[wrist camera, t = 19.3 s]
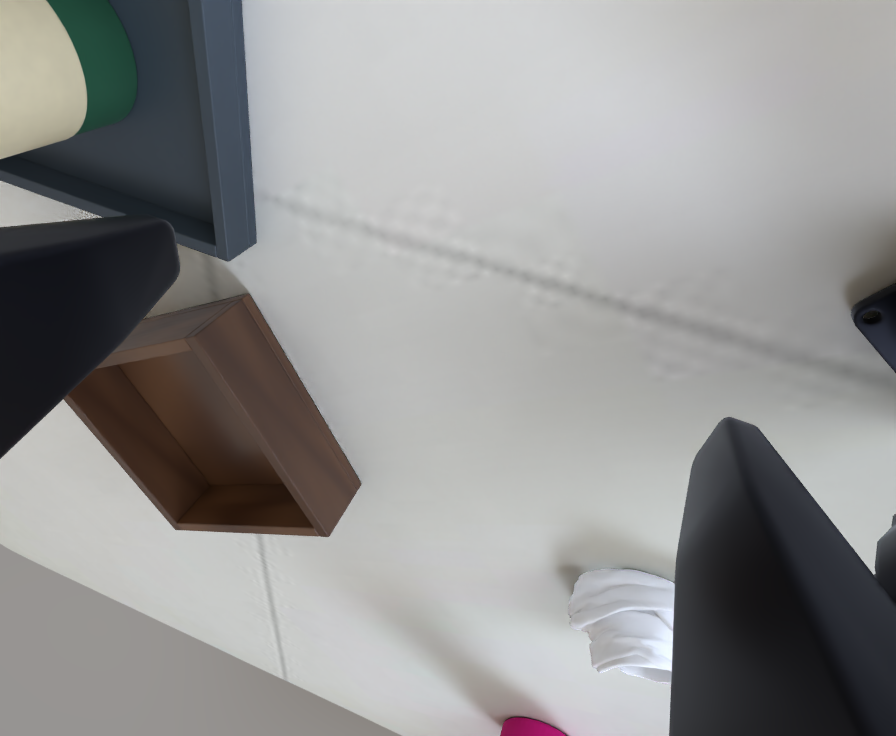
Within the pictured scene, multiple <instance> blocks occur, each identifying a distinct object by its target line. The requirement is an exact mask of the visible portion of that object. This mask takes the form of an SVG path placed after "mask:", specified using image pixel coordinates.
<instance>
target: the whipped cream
mask: <svg viewBox="0 0 896 736" xmlns="http://www.w3.org/2000/svg"><path fill="white" fill-rule="evenodd" d="M674 591H675V584H674V583H672V582H671V581H669V580H666V579H664V578H662V577H658V576H655V575H652V574H648V573H644V572H641V571H637V570H632V569H621V570H618V569H613V568H606V569H597V570H592V571H589V572H586V573H584V574H581V575H579V579H578V581H577V582H576V583H575V585H574V593H573V595H572V596H571V597H570V599H569V608H568V613H569V616H570V618H571V620H570V622H569V623H570V626H571V628H572V629H575V630H581V631H583V632H589V638H590V640H591V641H592V642H591V643H590V653H591V661H592V667H593V668H595V669H597V671H598V672H599V673H602V672H604V671H607V670H609V669H613V668H615V667H618V668H619V669H620V670H621V671H622V672H623V673H625V674H628V675H633V676H638V677H642V678H645V679H648V680H652V681H655V682H659V683H663V684H671V675H672V647H673V619H674Z"/></svg>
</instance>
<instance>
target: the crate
mask: <svg viewBox="0 0 896 736" xmlns="http://www.w3.org/2000/svg"><path fill="white" fill-rule="evenodd" d="M64 400H65V402H66V403H67V404H68V405H69V406H70V407H71V409H72V410H73V411H74V412H75V413H76V414H77V416H78V417H79V418H80V419H81V420H82V421H83V423H84V424H85V425H86V426H87V427H88V428H89V430H90V431H91V432H92V433H93V434H94V435H95V437H96V438H97V439H98V440H99V441H100V442H101V444H102V445H103V446H104V447H105V448H106V449H107V451H108V452H109V453H110V454H111V455H112V456H113V458H114V459H115V460H116V461H117V462H118V463H119V465H120V466H121V467H122V468H123V469H124V470H125V472H126V473H127V474H128V475H129V476H130V477H131V479H132V480H133V481H134V482H135V483H136V484H137V486H138V487H139V488H140V489H141V490H142V491H143V493H144V494H145V495H146V496H147V497H148V498H149V500H150V501H151V502H152V503H153V504H154V505H155V507H156V508H157V509H158V510H159V511H160V512H161V514H162V515H163V516H164V517H165V518H166V519H167V521H168V522H169V523H170V524H171V525H172V526H173V528H174V529H175V530H189V531H211V532H233V533H255V534H277V535H299V536H321V537H329V536H330V534H331V533H332V531H333V530H334V528H335V526H336V525H337V523H338V521H339V520H340V518H341V517H342V515H343V513H344V512H345V510H346V508H347V507H348V505H349V504H350V502H351V500H352V499H353V497H354V495H355V494H356V492H357V491H358V489H359V488H360V486H361V482H360V480H359V479H358V477H357V475H356V474H355V472H354V470H353V469H352V467H351V465H350V463H349V462H348V460H347V458H346V457H345V455H344V453H343V452H342V450H341V448H340V447H339V445H338V443H337V441H336V440H335V438H334V436H333V435H332V433H331V431H330V430H329V428H328V426H327V424H326V423H325V421H324V419H323V418H322V416H321V414H320V413H319V411H318V409H317V408H316V406H315V404H314V402H313V401H312V399H311V397H310V396H309V394H308V392H307V391H306V389H305V387H304V386H303V384H302V382H301V380H300V379H299V377H298V375H297V374H296V372H295V370H294V369H293V367H292V365H291V364H290V362H289V360H288V358H287V357H286V355H285V353H284V352H283V350H282V348H281V347H280V345H279V343H278V342H277V340H276V338H275V336H274V335H273V333H272V331H271V330H270V328H269V326H268V325H267V323H266V321H265V320H264V318H263V316H262V314H261V313H260V311H259V309H258V308H257V306H256V304H255V303H254V301H253V299H252V298H251V296H250V294H245V295H241V296H237V297H233V298H229V299H225V300H221V301H217V302H213V303H208V304H204V305H200V306H196V307H192V308H188V309H184V310H180V311H176V312H172V313H168V314H164V315H159V316H155V317H151V318H147V319H143V320H141V322H140V323H139V324H138V325H137V326H136V328H135V329H134V330H133V331H132V332H131V333H130V334H129V336H128V337H127V338H126V339H125V340H124V341H123V342H122V343H121V344H120V345H119V346H118V347H117V348H116V349H115V350H114V351H113V352H112V353H111V354H110V355H109V356H108V357H107V358H106V359H105V360H104V361H103V362H102V363H101V364H100V365H99V366H97V367H96V368H95V369H94V370H93V371H92V372H91V373H90V374H89V375H88V376H87V377H86V378H85V379H84V380H83V381H82V382H81V383H80V384H79V385H77V386H76V387H75V388H74V389H73V390H72V391H71V392H70V393H69V394H68V395H67V396H66V397H65V398H64Z"/></svg>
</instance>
